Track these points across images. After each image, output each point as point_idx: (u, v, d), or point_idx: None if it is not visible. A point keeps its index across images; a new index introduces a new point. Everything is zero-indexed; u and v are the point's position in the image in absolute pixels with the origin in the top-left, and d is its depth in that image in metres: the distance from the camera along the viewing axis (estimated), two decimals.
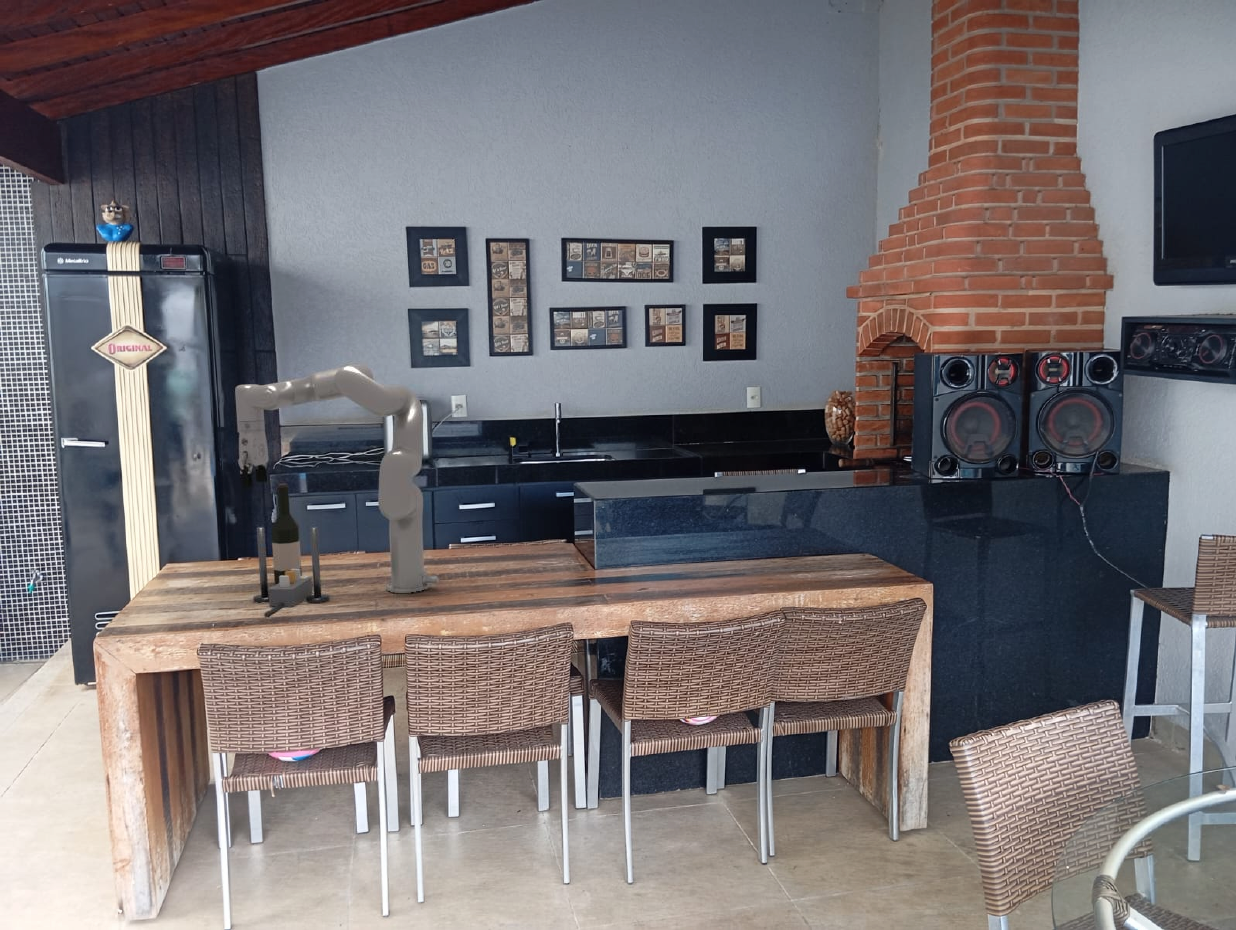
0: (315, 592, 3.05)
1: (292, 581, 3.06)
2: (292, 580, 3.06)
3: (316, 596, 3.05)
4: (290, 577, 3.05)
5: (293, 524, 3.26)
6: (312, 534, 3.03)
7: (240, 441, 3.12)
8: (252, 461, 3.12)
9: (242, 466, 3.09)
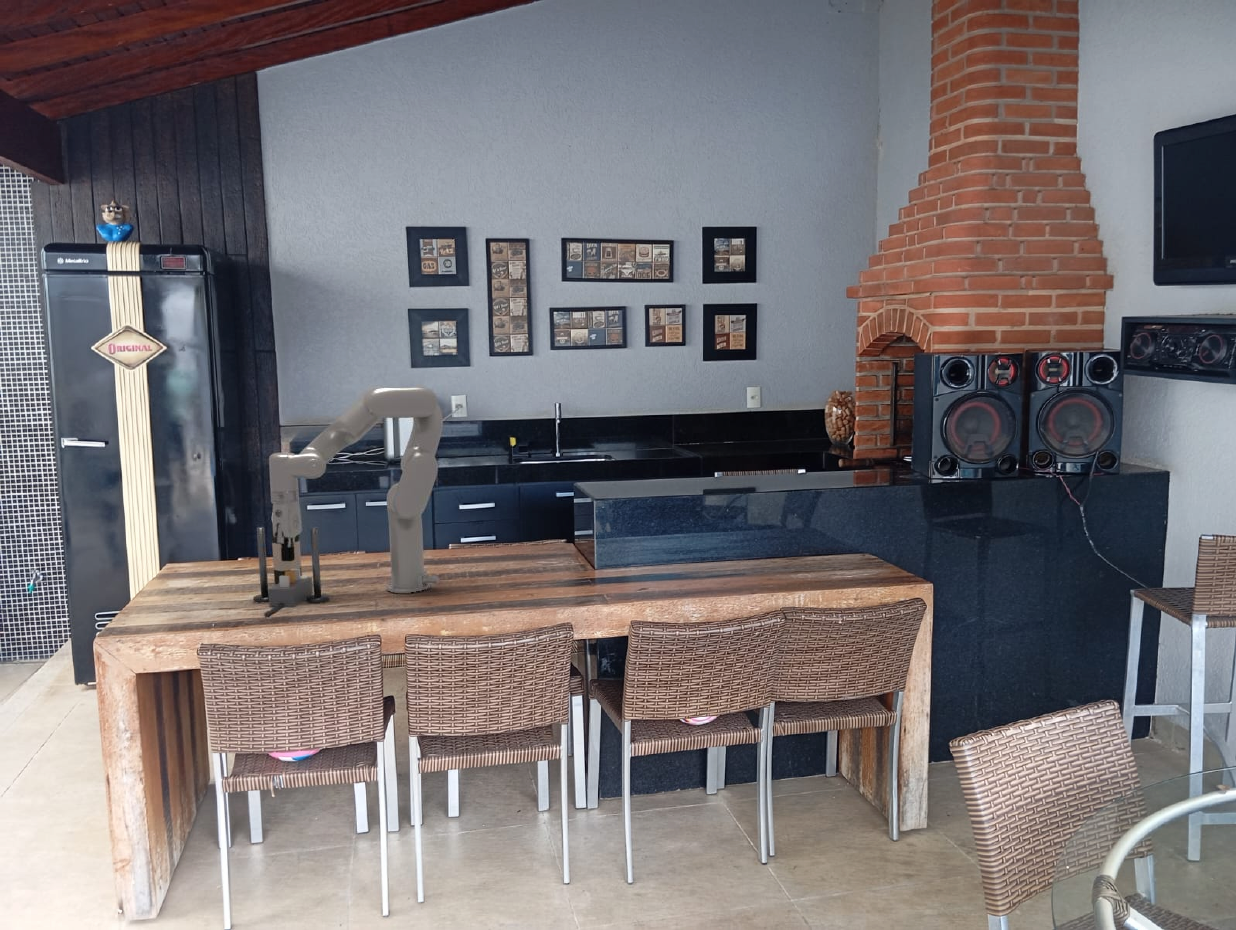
0: (315, 592, 3.05)
1: (292, 581, 3.06)
2: (292, 580, 3.06)
3: (316, 596, 3.05)
4: (290, 577, 3.05)
5: None
6: (312, 534, 3.03)
7: (274, 512, 2.99)
8: (286, 534, 2.99)
9: (283, 543, 3.01)
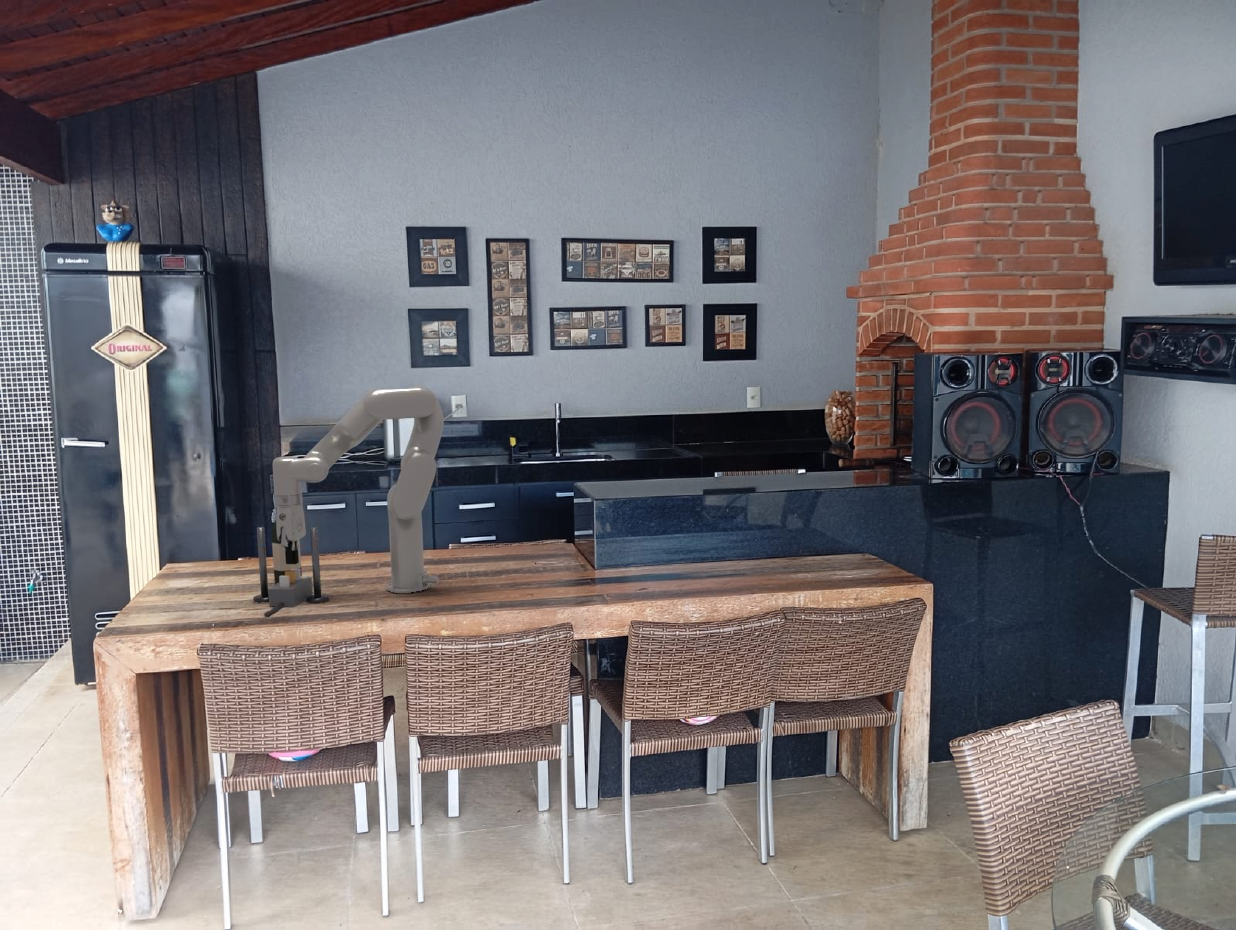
0: (315, 592, 3.05)
1: (292, 581, 3.06)
2: (292, 580, 3.06)
3: (316, 596, 3.05)
4: (290, 577, 3.05)
5: None
6: (312, 534, 3.03)
7: (277, 516, 3.02)
8: (290, 537, 3.02)
9: (286, 546, 3.04)
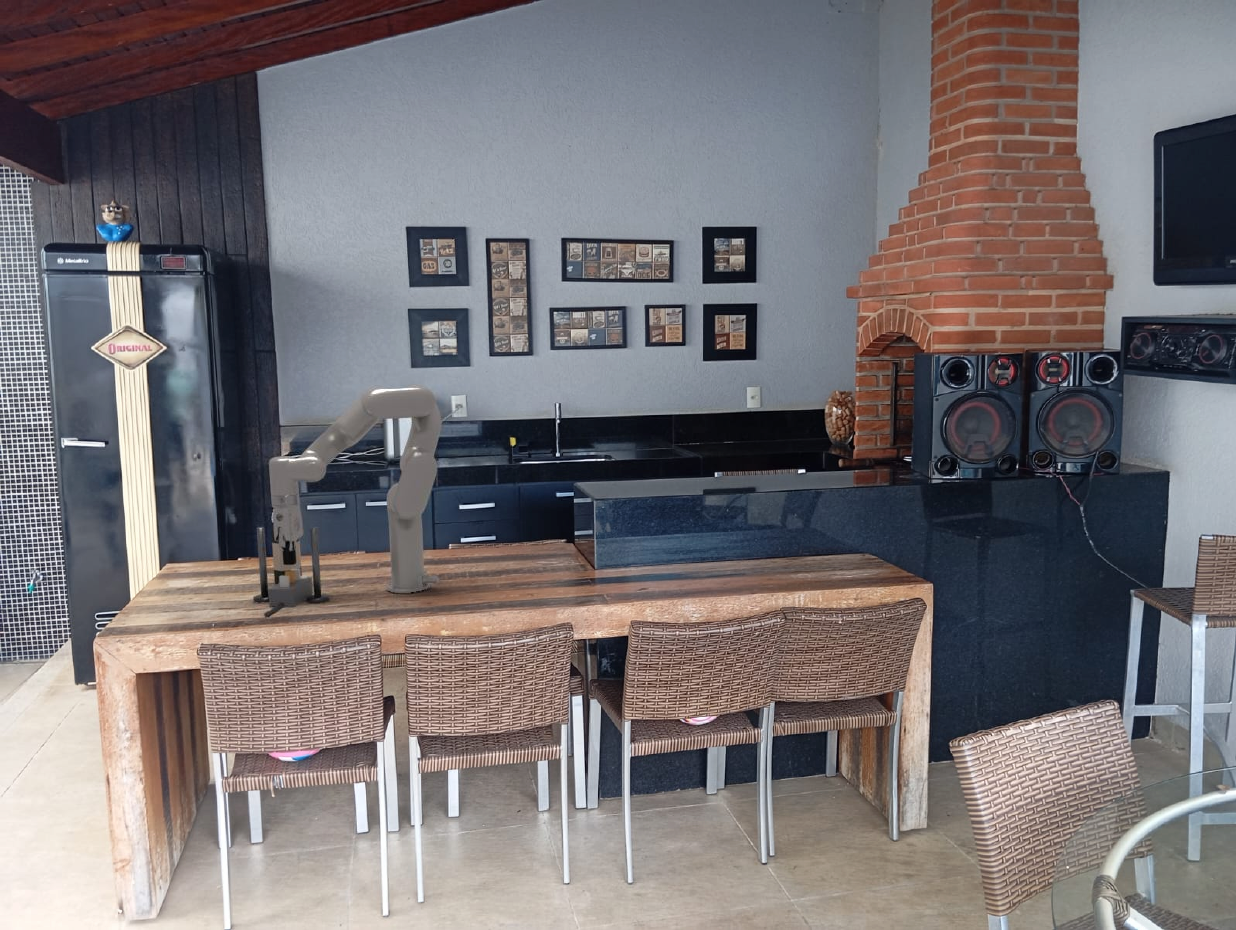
0: (315, 592, 3.05)
1: (292, 581, 3.06)
2: (292, 580, 3.06)
3: (316, 596, 3.05)
4: (290, 577, 3.05)
5: None
6: (312, 534, 3.03)
7: (275, 516, 2.99)
8: (287, 538, 2.99)
9: (284, 547, 3.01)
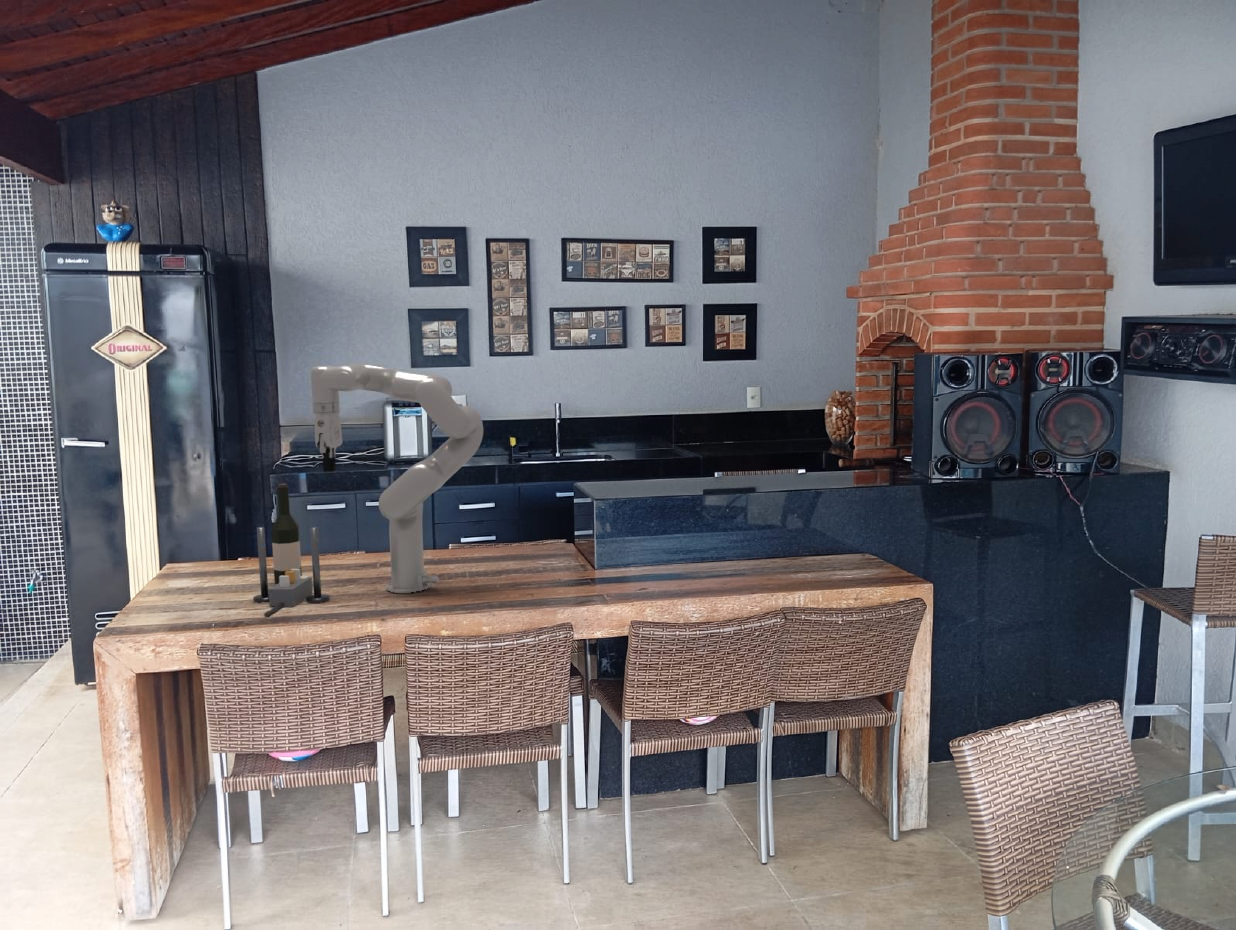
0: (315, 592, 3.05)
1: (292, 581, 3.06)
2: (292, 580, 3.06)
3: (316, 596, 3.05)
4: (290, 577, 3.05)
5: (293, 524, 3.26)
6: (312, 534, 3.03)
7: (316, 423, 3.09)
8: (328, 443, 3.09)
9: (324, 453, 3.11)
